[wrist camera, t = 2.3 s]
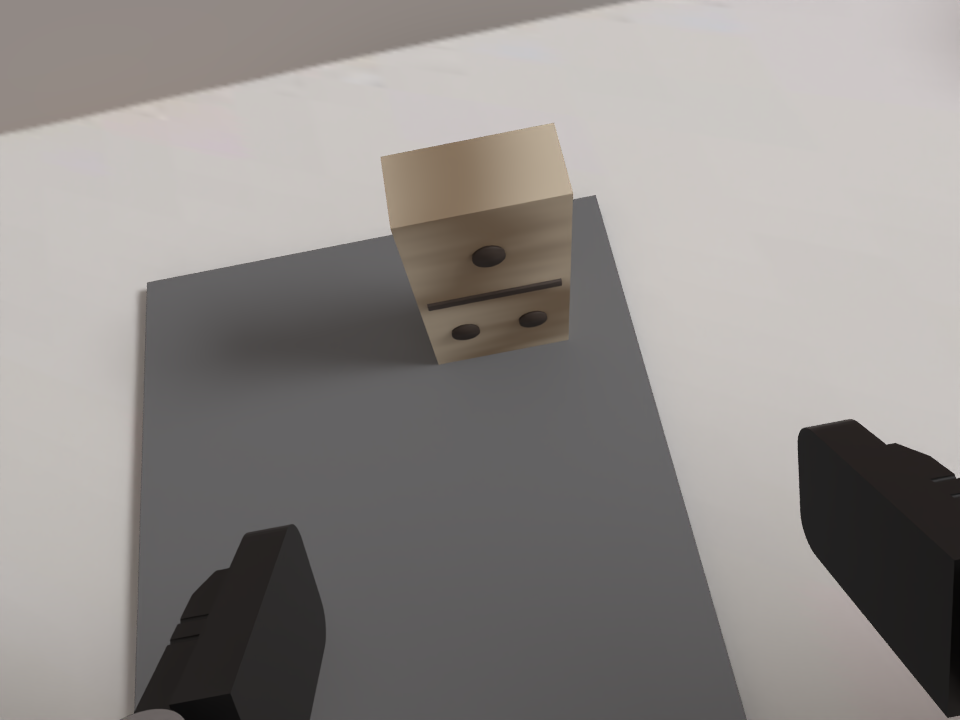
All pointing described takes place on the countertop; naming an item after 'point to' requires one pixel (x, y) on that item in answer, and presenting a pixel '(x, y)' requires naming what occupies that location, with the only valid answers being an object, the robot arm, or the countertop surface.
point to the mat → (429, 493)
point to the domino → (485, 240)
